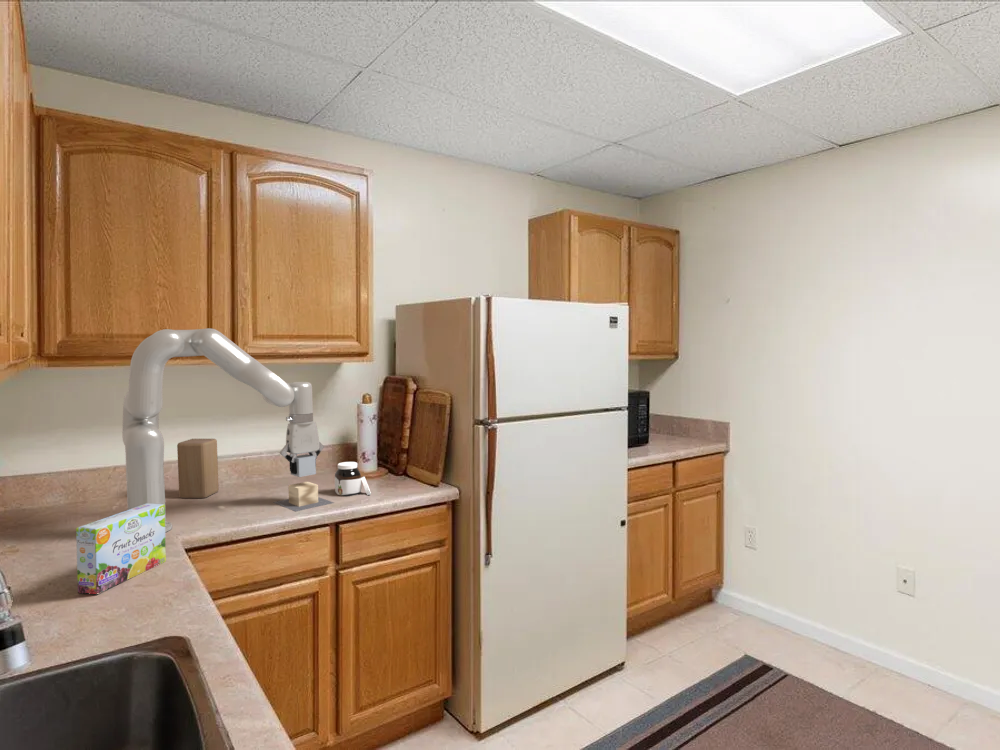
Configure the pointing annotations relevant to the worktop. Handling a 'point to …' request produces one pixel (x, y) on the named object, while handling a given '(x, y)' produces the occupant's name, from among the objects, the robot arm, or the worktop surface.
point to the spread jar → (349, 480)
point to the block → (197, 468)
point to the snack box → (120, 547)
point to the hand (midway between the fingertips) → (303, 471)
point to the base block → (303, 493)
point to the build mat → (297, 508)
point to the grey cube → (305, 465)
